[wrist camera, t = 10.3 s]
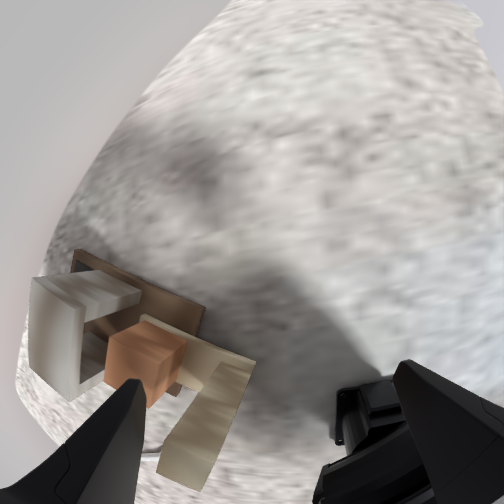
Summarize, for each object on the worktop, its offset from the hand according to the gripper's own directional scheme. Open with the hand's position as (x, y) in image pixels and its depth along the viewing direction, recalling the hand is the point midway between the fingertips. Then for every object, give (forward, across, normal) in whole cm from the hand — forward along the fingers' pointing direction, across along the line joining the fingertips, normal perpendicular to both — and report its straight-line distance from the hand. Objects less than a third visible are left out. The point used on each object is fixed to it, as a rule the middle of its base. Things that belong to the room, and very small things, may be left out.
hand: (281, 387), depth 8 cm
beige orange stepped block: (+11, +4, +9) cm, 15 cm away
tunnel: (+15, +12, +8) cm, 21 cm away
